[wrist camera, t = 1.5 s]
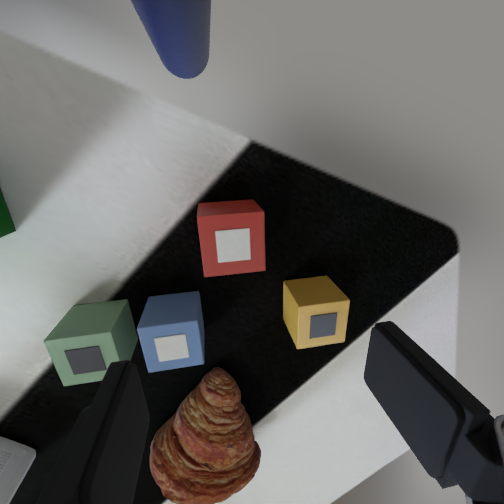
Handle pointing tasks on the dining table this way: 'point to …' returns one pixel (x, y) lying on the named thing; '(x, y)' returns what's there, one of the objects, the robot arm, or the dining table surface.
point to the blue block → (172, 331)
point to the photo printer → (13, 467)
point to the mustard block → (315, 311)
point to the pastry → (206, 444)
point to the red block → (231, 237)
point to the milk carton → (5, 218)
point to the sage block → (91, 340)
